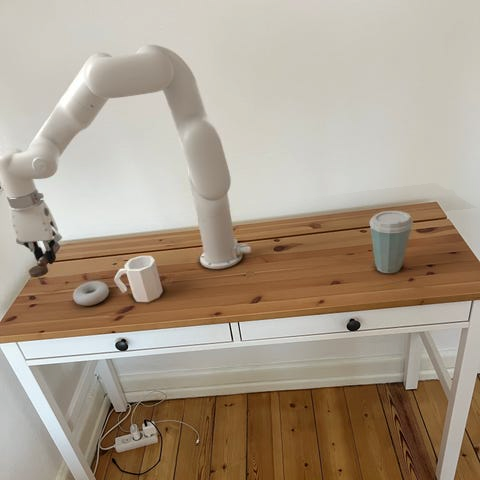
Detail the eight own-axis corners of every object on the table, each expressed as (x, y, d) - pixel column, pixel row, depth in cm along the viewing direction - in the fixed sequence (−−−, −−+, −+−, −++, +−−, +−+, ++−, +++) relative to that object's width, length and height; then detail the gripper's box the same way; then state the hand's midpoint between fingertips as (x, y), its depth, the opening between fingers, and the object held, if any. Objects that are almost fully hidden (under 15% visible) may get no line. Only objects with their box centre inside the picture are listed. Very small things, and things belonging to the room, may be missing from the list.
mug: (162, 283, 152) (154, 253, 147) (162, 299, 145) (154, 268, 139) (121, 291, 152) (111, 260, 146) (118, 307, 145) (108, 276, 139)
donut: (96, 310, 145) (117, 290, 152) (92, 300, 143) (113, 280, 150) (67, 305, 149) (89, 286, 156) (63, 295, 147) (86, 276, 154)
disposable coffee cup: (362, 263, 147) (362, 212, 138) (398, 254, 148) (400, 203, 139) (379, 281, 138) (380, 228, 129) (418, 271, 139) (421, 218, 131)
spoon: (50, 248, 154) (47, 241, 153) (66, 247, 154) (63, 240, 152) (27, 278, 141) (24, 270, 140) (44, 277, 140) (41, 269, 139)
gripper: (58, 190, 139) (79, 253, 149) (1, 196, 141) (25, 257, 152) (48, 202, 133) (70, 267, 143) (-12, 207, 135) (14, 271, 145)
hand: (47, 261), depth 147 cm, fingers closed on spoon, 2 cm apart
